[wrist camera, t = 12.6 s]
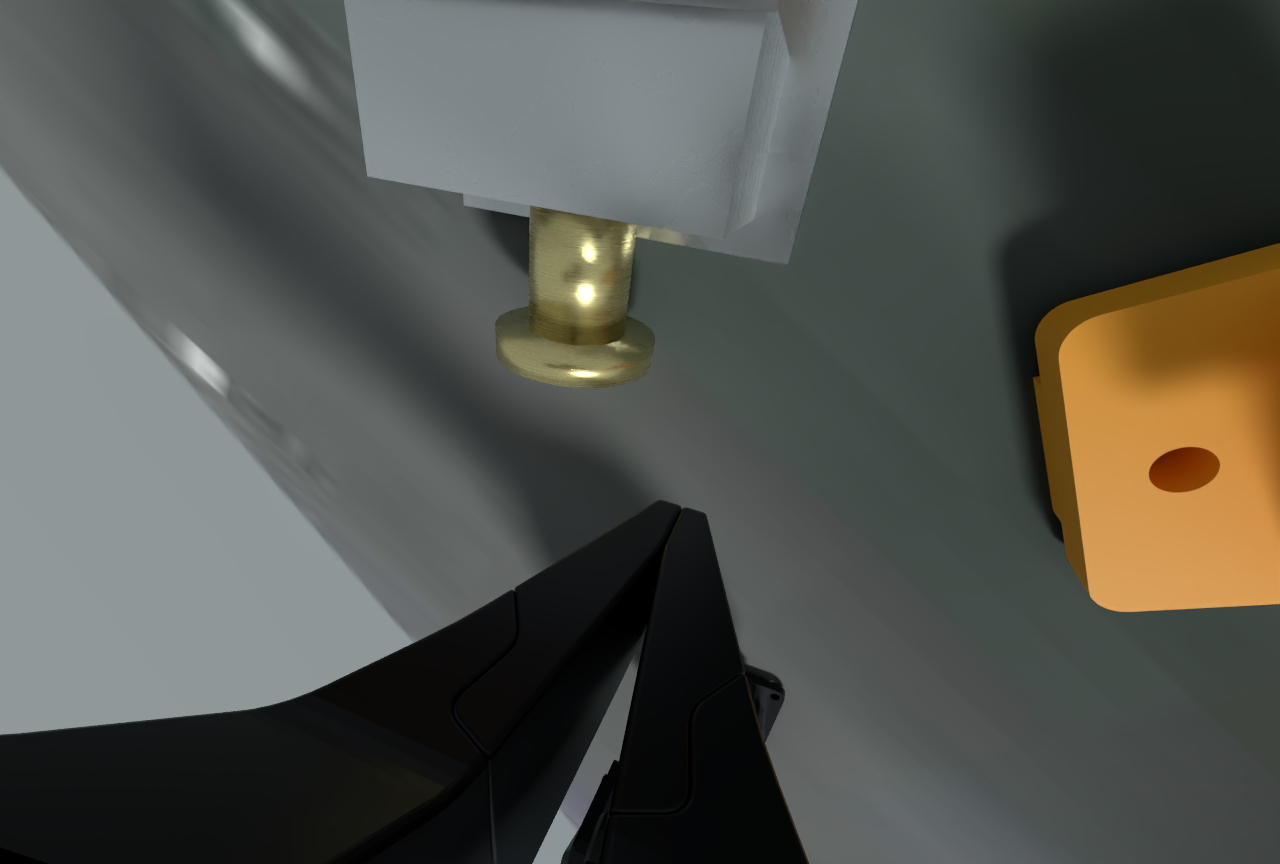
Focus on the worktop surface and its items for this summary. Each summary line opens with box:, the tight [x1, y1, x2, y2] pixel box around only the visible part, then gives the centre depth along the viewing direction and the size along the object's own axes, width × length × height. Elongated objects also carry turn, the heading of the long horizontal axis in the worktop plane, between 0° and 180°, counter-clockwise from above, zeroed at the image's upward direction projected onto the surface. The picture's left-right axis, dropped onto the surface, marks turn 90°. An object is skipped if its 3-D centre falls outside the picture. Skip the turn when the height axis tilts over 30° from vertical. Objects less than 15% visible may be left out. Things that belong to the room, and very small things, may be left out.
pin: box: [495, 206, 655, 388], centre depth 15 cm, size 14×6×6 cm, turn 173°
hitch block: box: [344, 0, 858, 265], centre depth 14 cm, size 10×13×7 cm
